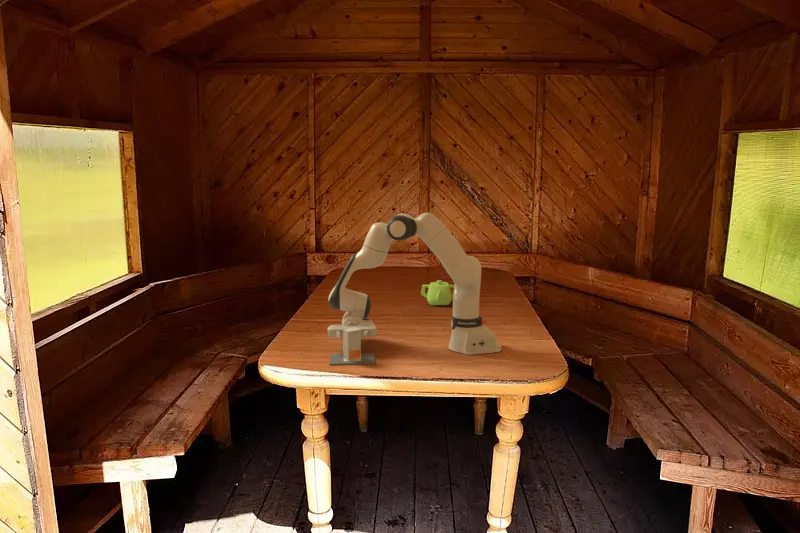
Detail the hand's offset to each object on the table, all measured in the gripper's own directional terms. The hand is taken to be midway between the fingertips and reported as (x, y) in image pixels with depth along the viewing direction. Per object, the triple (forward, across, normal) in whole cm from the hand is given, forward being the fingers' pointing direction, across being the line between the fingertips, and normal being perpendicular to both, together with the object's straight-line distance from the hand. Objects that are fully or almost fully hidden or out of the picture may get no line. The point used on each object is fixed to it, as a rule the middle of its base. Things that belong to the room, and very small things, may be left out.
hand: (352, 336), depth 260 cm
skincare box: (+2, 0, +9) cm, 9 cm away
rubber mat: (+2, 0, +9) cm, 9 cm away
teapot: (-86, +47, +9) cm, 99 cm away
